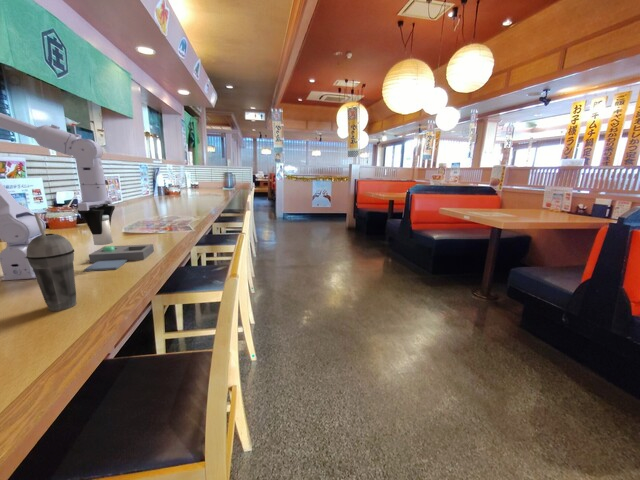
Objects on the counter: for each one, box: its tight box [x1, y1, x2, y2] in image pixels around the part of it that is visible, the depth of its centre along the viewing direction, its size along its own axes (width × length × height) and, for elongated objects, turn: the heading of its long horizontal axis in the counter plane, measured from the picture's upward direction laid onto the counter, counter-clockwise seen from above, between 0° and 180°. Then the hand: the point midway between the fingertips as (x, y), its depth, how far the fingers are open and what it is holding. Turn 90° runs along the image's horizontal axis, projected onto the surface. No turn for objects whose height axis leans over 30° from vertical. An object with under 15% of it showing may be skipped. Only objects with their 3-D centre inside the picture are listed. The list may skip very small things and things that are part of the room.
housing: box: [88, 243, 155, 264], centre depth 96 cm, size 10×15×2 cm, turn 103°
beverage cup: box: [26, 212, 77, 312], centre depth 60 cm, size 7×7×20 cm
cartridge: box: [91, 215, 114, 246], centre depth 85 cm, size 5×5×8 cm
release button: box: [103, 245, 115, 251], centre depth 95 cm, size 3×3×3 cm
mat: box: [84, 259, 129, 272], centre depth 87 cm, size 8×8×1 cm
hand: (101, 232), depth 85 cm, fingers closed on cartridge, 4 cm apart
